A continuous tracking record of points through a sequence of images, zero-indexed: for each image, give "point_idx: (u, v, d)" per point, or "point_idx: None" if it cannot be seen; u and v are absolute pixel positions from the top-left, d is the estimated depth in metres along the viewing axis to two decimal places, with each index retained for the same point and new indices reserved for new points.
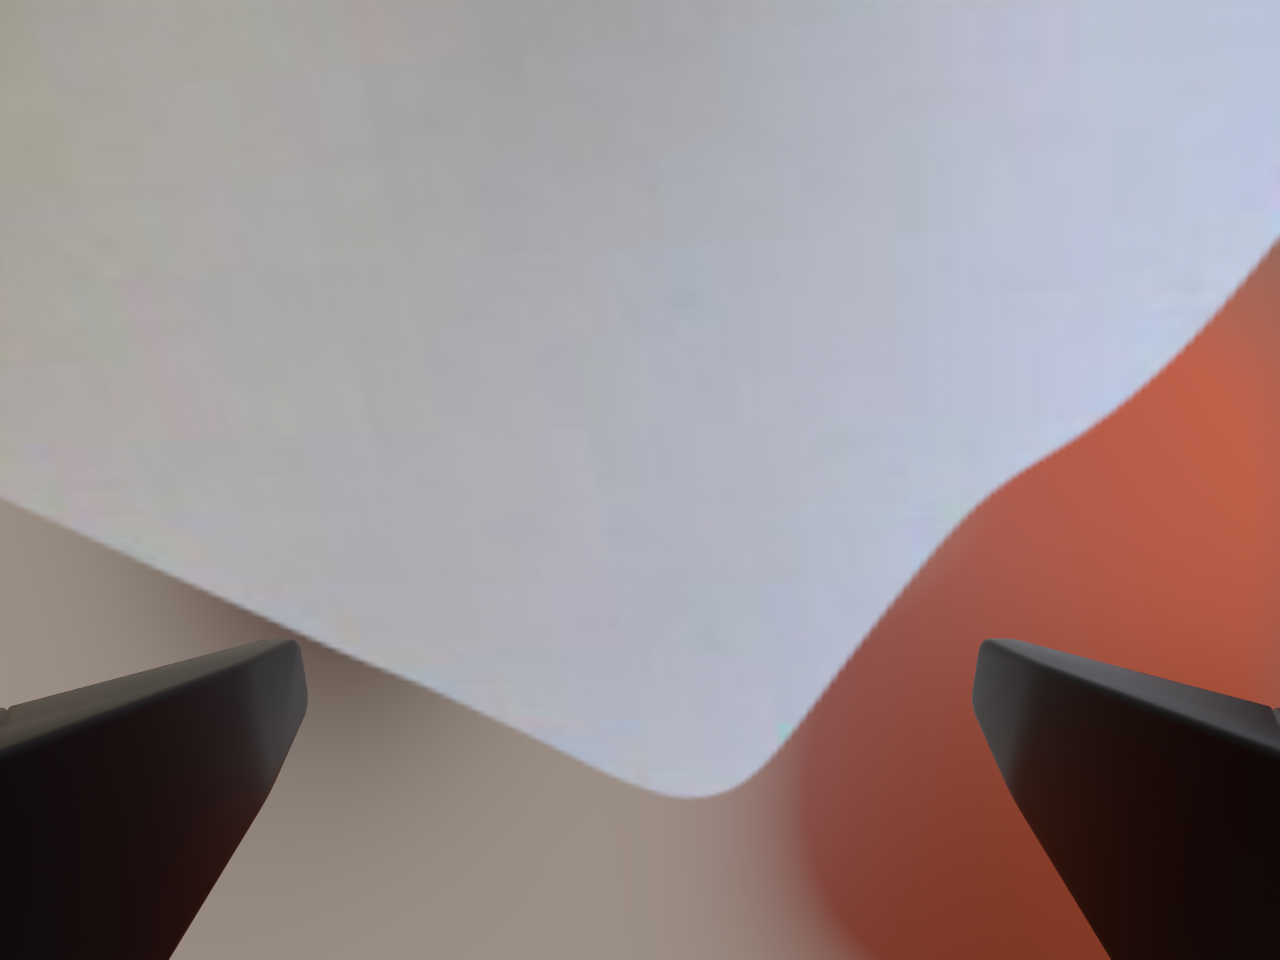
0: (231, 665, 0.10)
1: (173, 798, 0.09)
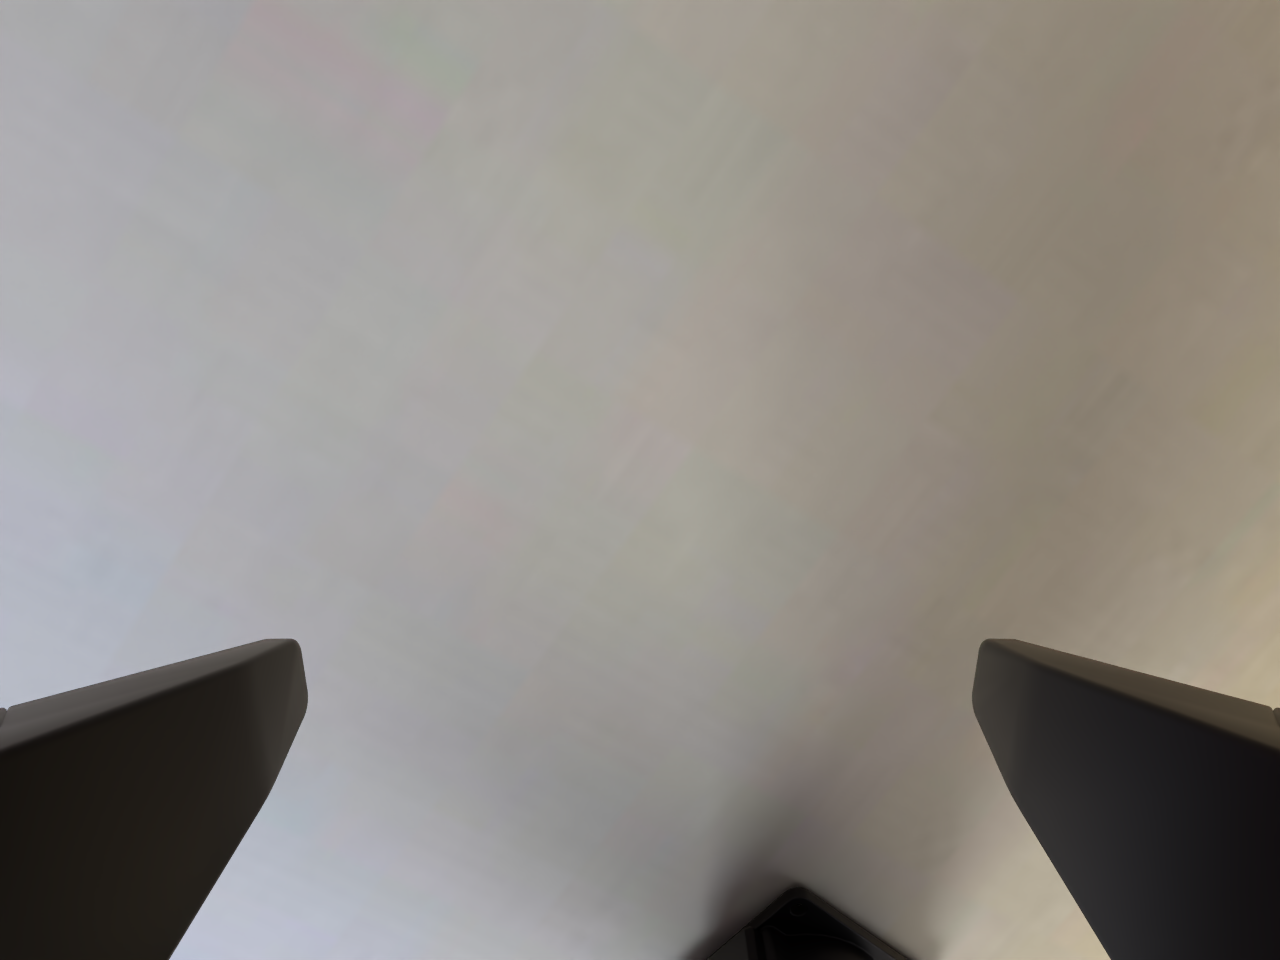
0: (231, 665, 0.10)
1: (173, 798, 0.09)
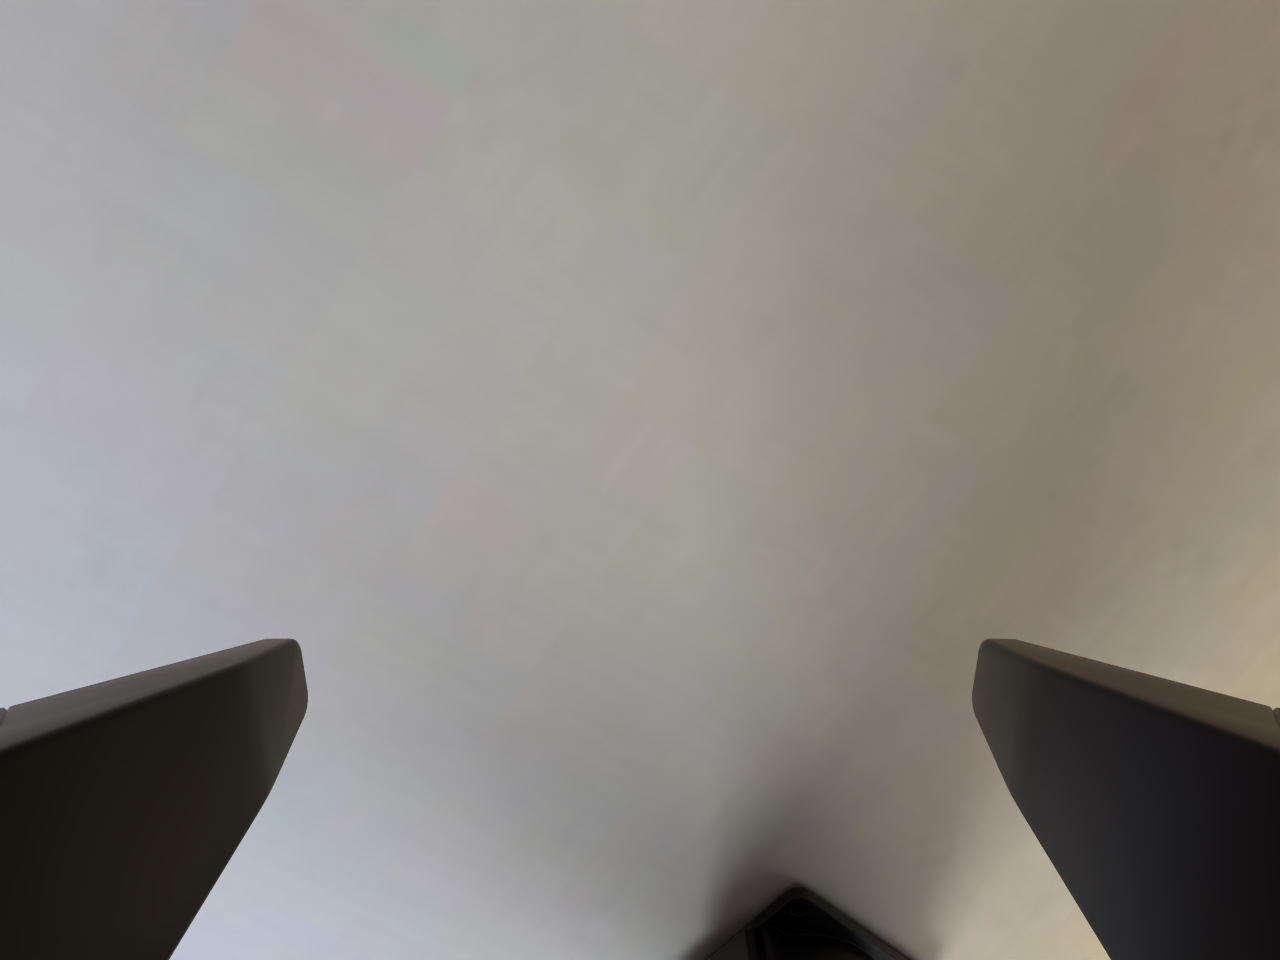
0: (231, 665, 0.10)
1: (173, 798, 0.09)
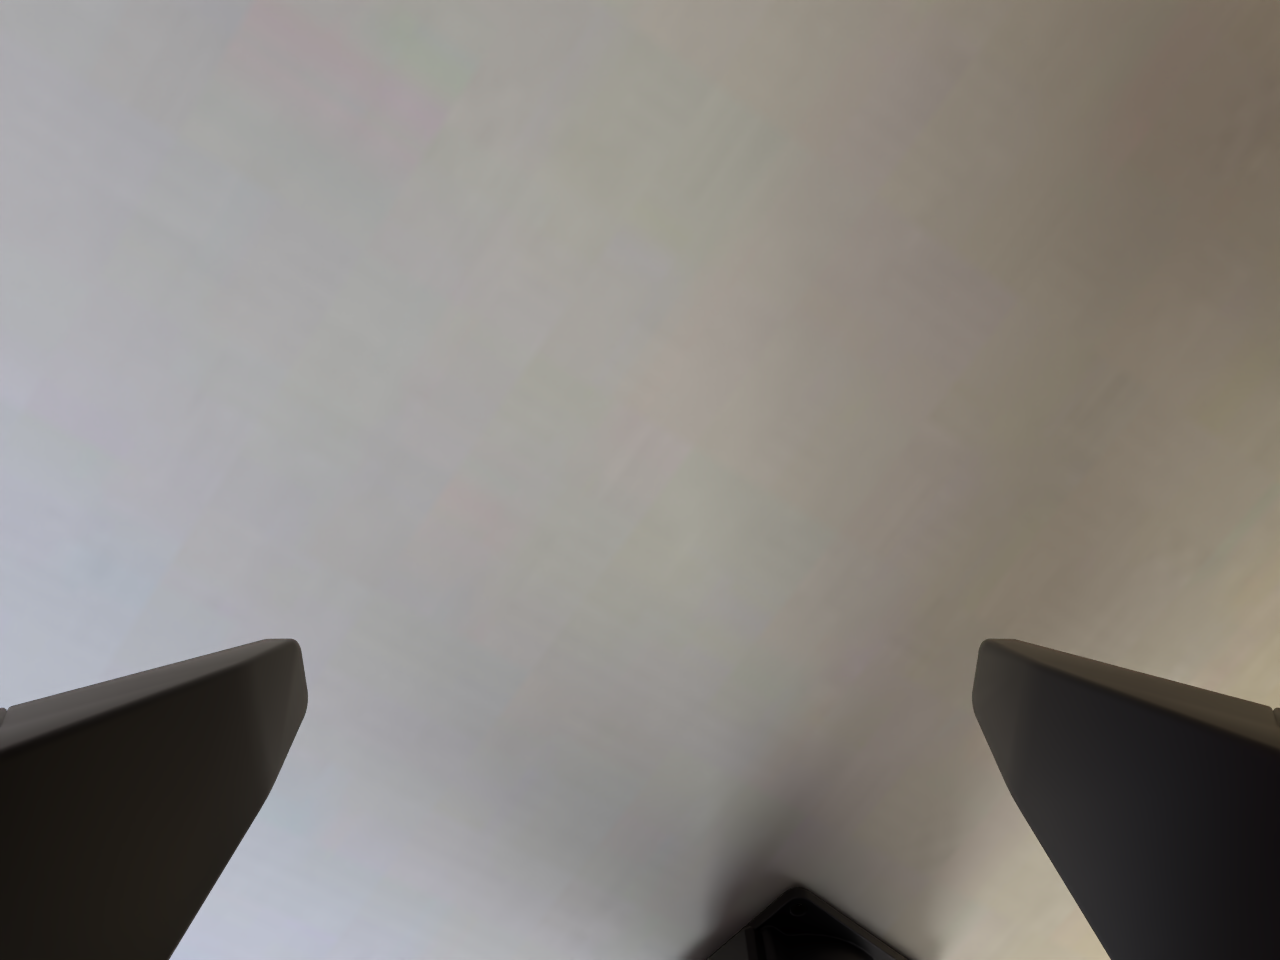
0: (231, 665, 0.10)
1: (173, 798, 0.09)
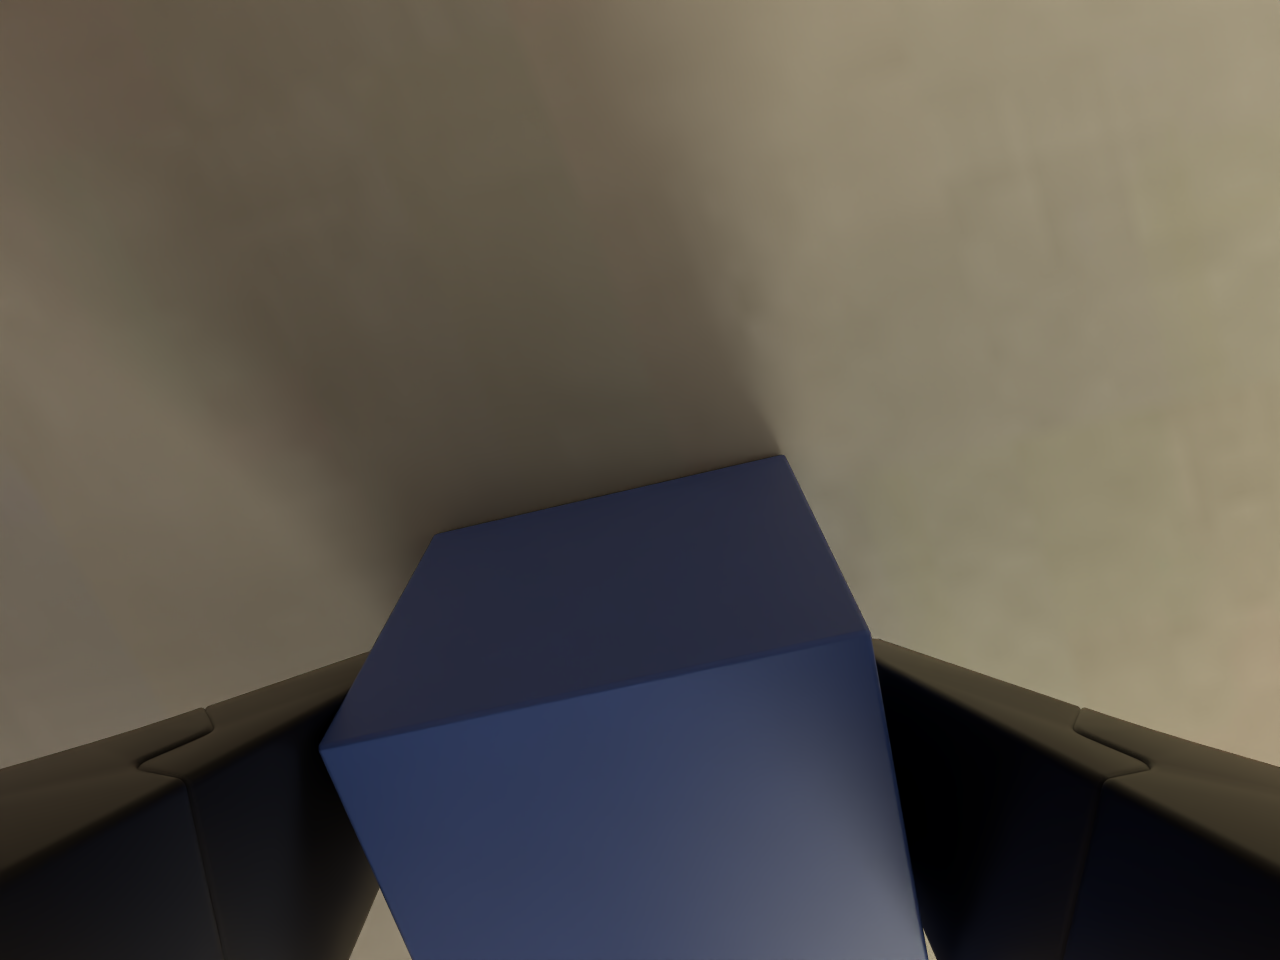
0: None
1: None
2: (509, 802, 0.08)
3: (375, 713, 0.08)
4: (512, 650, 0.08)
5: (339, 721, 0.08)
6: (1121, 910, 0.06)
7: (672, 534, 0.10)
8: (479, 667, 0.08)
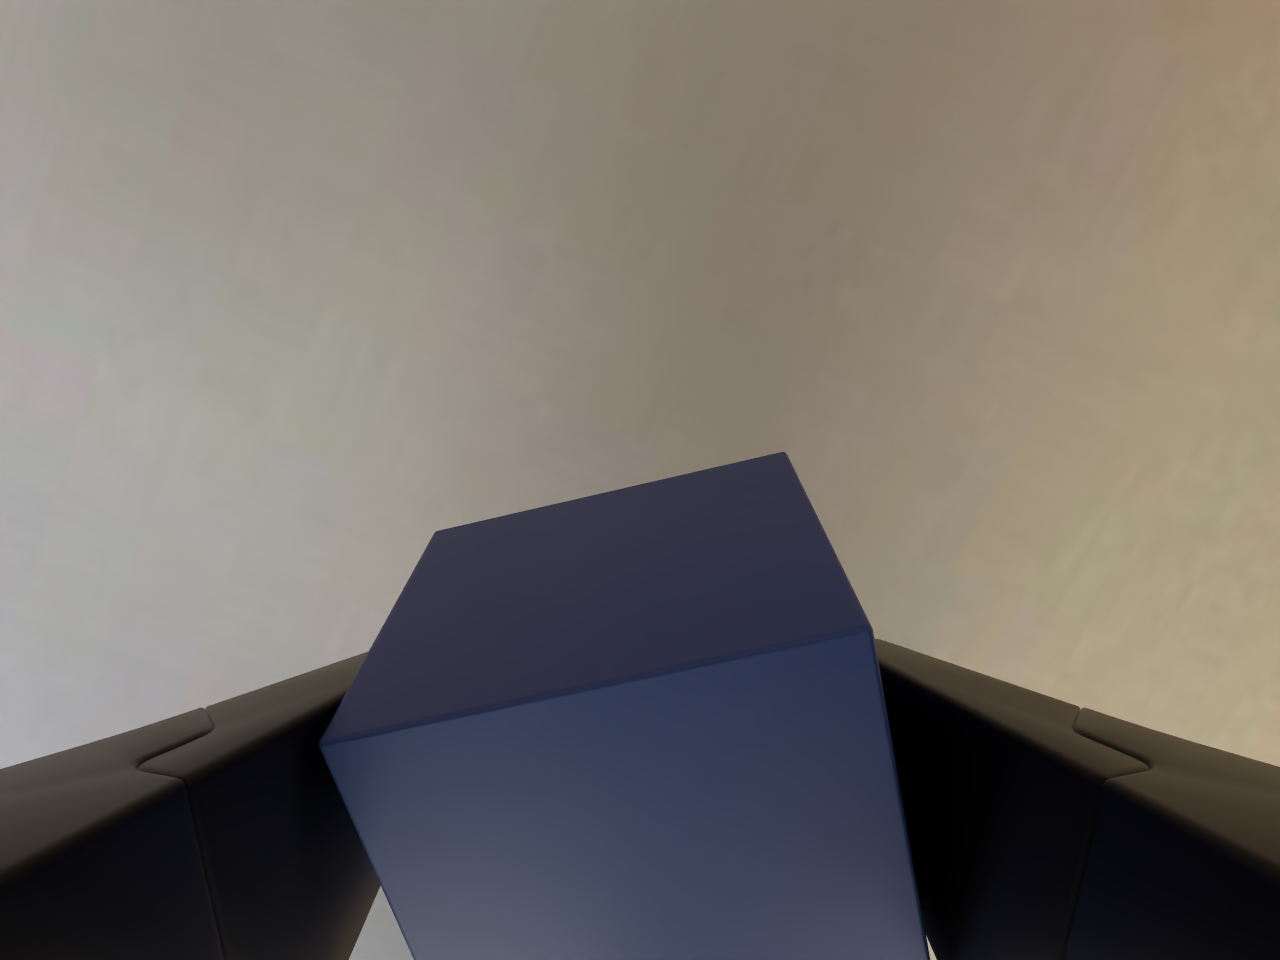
0: None
1: None
2: (510, 798, 0.08)
3: (376, 709, 0.08)
4: (513, 646, 0.08)
5: (340, 717, 0.08)
6: (1121, 910, 0.06)
7: (672, 530, 0.10)
8: (481, 662, 0.08)
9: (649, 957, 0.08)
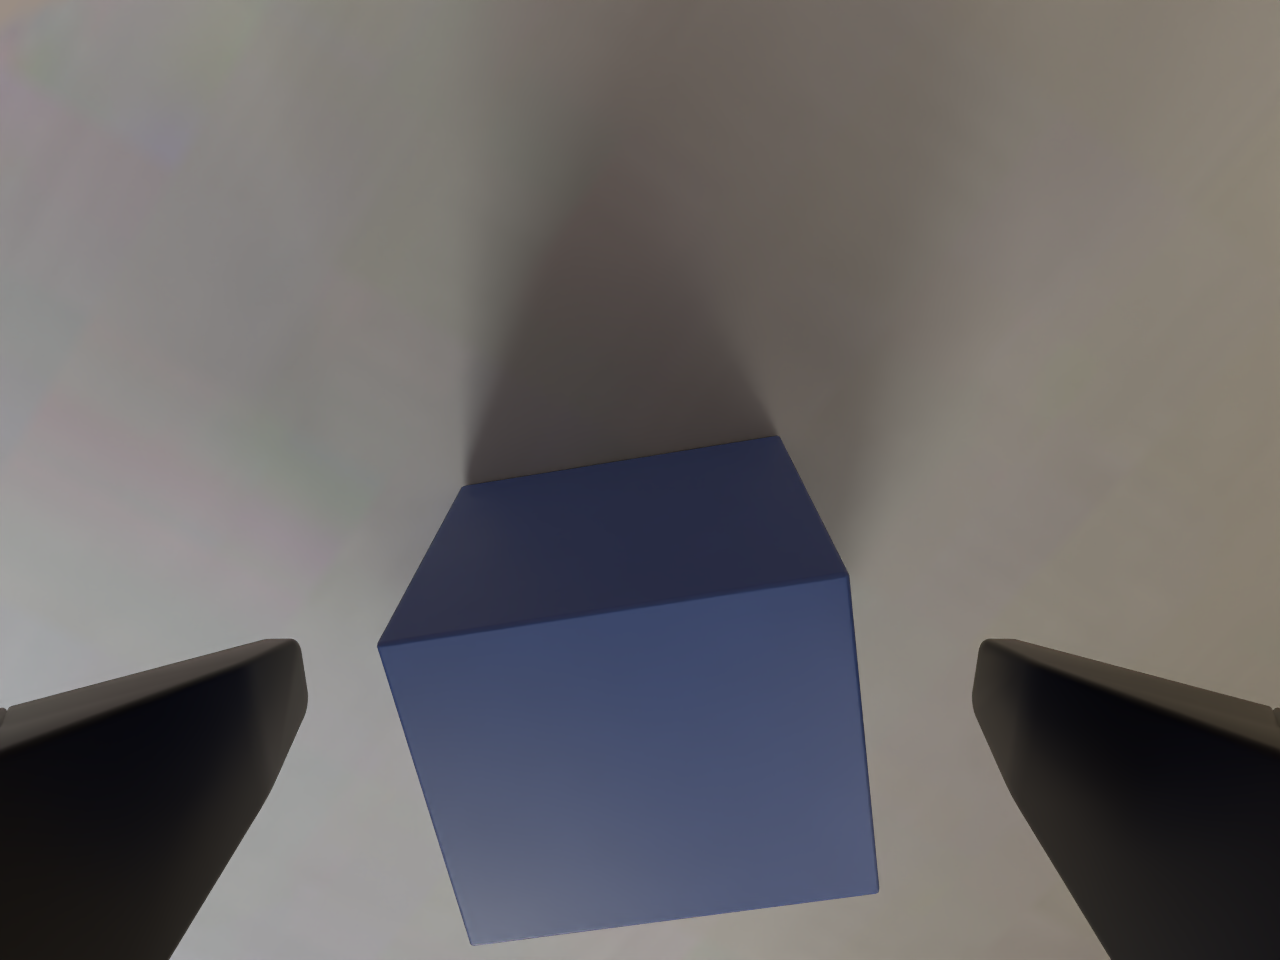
0: (231, 665, 0.10)
1: (173, 798, 0.09)
2: (536, 702, 0.09)
3: (424, 620, 0.09)
4: (543, 578, 0.10)
5: (394, 625, 0.09)
6: None
7: (679, 494, 0.11)
8: (514, 588, 0.10)
9: (640, 850, 0.10)
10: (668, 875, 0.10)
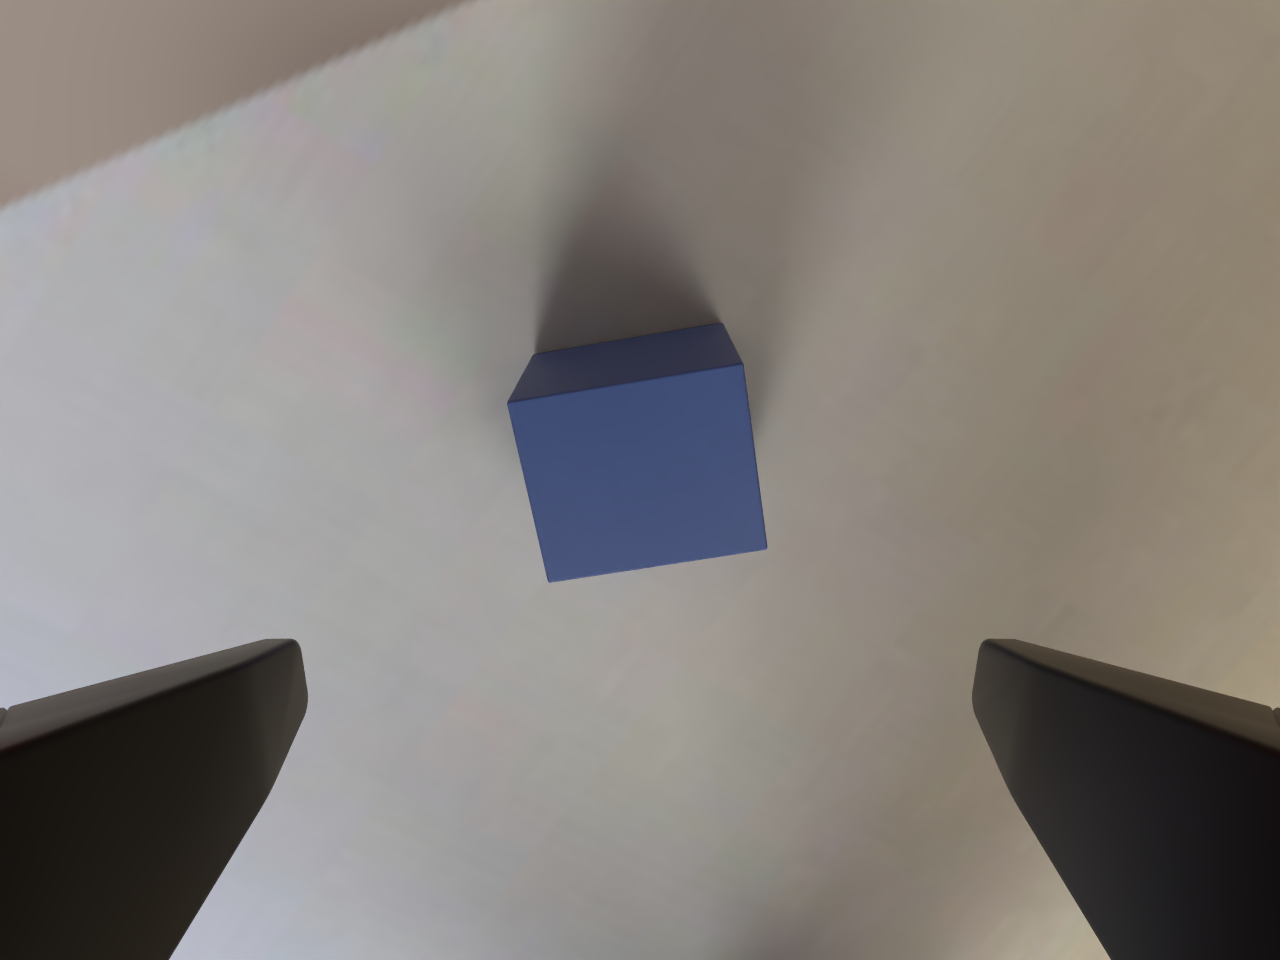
0: (231, 665, 0.10)
1: (173, 798, 0.09)
2: (586, 434, 0.18)
3: (529, 394, 0.18)
4: (588, 377, 0.19)
5: (514, 396, 0.18)
6: None
7: (661, 347, 0.20)
8: (574, 381, 0.18)
9: (639, 522, 0.19)
10: (655, 537, 0.19)
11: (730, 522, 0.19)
